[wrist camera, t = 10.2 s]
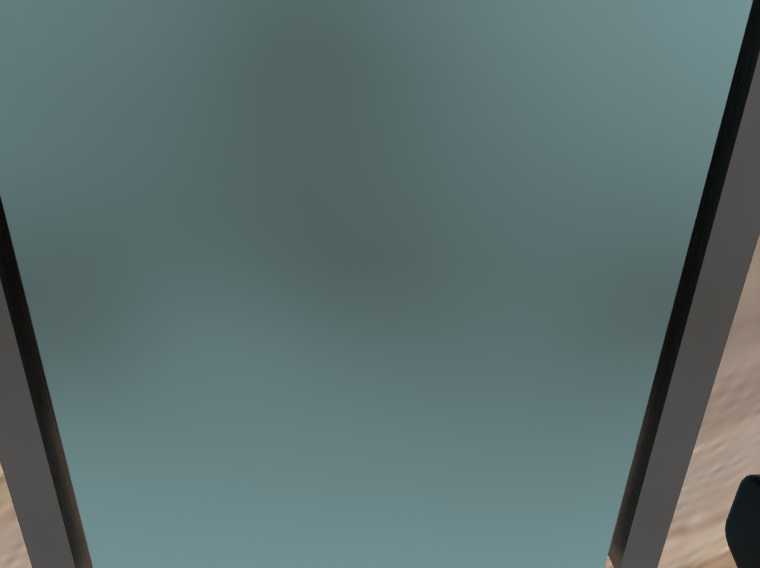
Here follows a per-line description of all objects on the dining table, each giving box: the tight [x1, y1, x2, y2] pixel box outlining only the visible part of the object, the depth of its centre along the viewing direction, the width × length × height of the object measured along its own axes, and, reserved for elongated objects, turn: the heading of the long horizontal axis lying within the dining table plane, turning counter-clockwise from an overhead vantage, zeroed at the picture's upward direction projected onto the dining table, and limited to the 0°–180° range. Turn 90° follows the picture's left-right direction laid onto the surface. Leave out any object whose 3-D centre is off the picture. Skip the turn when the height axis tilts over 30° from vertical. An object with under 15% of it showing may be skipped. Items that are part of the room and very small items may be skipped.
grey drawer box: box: [0, 0, 760, 568], centre depth 16 cm, size 16×17×7 cm
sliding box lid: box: [0, 0, 753, 568], centre depth 14 cm, size 13×18×2 cm
